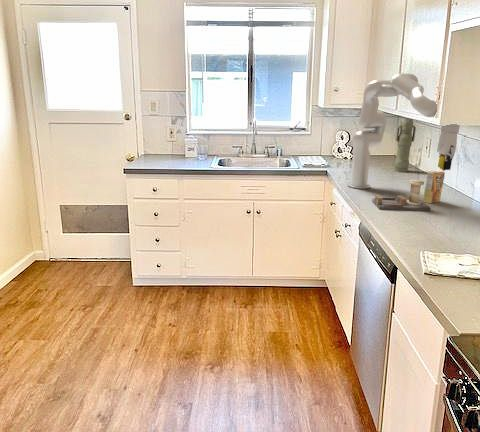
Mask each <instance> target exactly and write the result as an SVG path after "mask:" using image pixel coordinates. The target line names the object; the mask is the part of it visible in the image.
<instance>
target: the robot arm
mask: <svg viewBox="0 0 480 432" xmlns="http://www.w3.org/2000/svg"><path fill="white" fill-rule="evenodd" d="M424 92H425V89H424V86H423V85H422V84H420V83H419V79H418V77H417V75H415V74H413V73H404V72H402V73H397V74H394V76H392V78H391V79H375V80H372V81H369V82H368V83H367V84H366V85H365V87H364V91H363V98H362V99H363V101H362V105H361V109H360V113H359V114H360V115H359V119H358V124H359V127H360V128H362V129H365V130H359V131H357V132H355V133H354V135H353V136H352V161H351V162H352V163H351V171H350V172H351V174H350V182H347V184H346V186H347V187H349V188H352V189H361V190H365V189H369V188H371V184H369V182H368V181H369V175H370V174H369V172H370V163H371V162H370V161H371V152H370V149H369V148H375V147H378V146H380V144H381V143H382V141H383V138H384V133H385V129H386V124H387V115H386V114H385V112H384V111H381V110H378V109H379V106H380V104H379V101H380V100H379V98H380V97H383V98H384V97H385V98H386V97H387V98H388V97H389V98H391V97H392V98H394V97H397V96H400V95H402V96H403V98H406V99H407V100H408V101H410V104H411V106H412V107H413V109H414V110H415V111H417V112H418V113H420V114H421V115H423V116H424V117H427V118H435V117H434V116H435V114H436V112H437V104H436V102H435V101H434V99H433V100H431V99H430V98H428V96H425V95H424ZM460 125H461V124H460ZM460 125H457V124H450V125H446V126H442V125H441V128H440V129H441V130H440V135H439V139H438V142H437V150H436V151H437V152H438V154H439V156H438V159H440V157H441V156H443V155H445V161H444V166H443V169H444V170H445V171H450V170H451V169H452V162H453V159H454V157H455V154H456V150H457V144H458V143H457V142H458V134H459V131H460ZM447 156H448V158H447ZM437 168H439V165H438V164H437Z"/></svg>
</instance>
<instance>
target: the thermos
mask: <svg viewBox="0 0 480 432" xmlns="http://www.w3.org/2000/svg"><path fill="white" fill-rule="evenodd" d="M409 118H410V117H404V118H402V119H401V122H400V125H398V126H397V128H396V134H395V141H396V142H397V149H396V151H397V152H396V158H395V160H394V165H393V166H394V168H393V169H394V170H395V171H394V170H393V171H394V172H396V171H399V172H398V173H407V171H409V166H410V160H409V159H410V154H411V153H410V152H411V146H412V144H413V142H415V139H416V138H415V137H416V131H417V130H416V129H417V127H416V125H414V120H413V118H411V119H409Z"/></svg>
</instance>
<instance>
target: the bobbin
mask: <svg viewBox="0 0 480 432" xmlns="http://www.w3.org/2000/svg"><path fill="white" fill-rule="evenodd" d="M408 184H409V185H410V188H409V195H408V196H409V197H408V199H407V200H406V204H408V205H414V206H419V205H421V202H420V201H419V200H420V192H421V186H424V185H425V181H423V180H418V179H417V180H416V179H409V180H408Z"/></svg>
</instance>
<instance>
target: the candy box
mask: <svg viewBox="0 0 480 432" xmlns="http://www.w3.org/2000/svg"><path fill="white" fill-rule="evenodd" d="M445 175H446V173H445V171H443V170H441V171H440V170H436V171H427V174H426V179H425V180H426V182H425V186H424V192H423V193H424V194H423V200H422V202H424V203H425V204H426V203H427V204H433V203H438V202H441V196H442V192H443V191H442V190H443V187H444V186H443V185H444V180H445Z"/></svg>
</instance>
